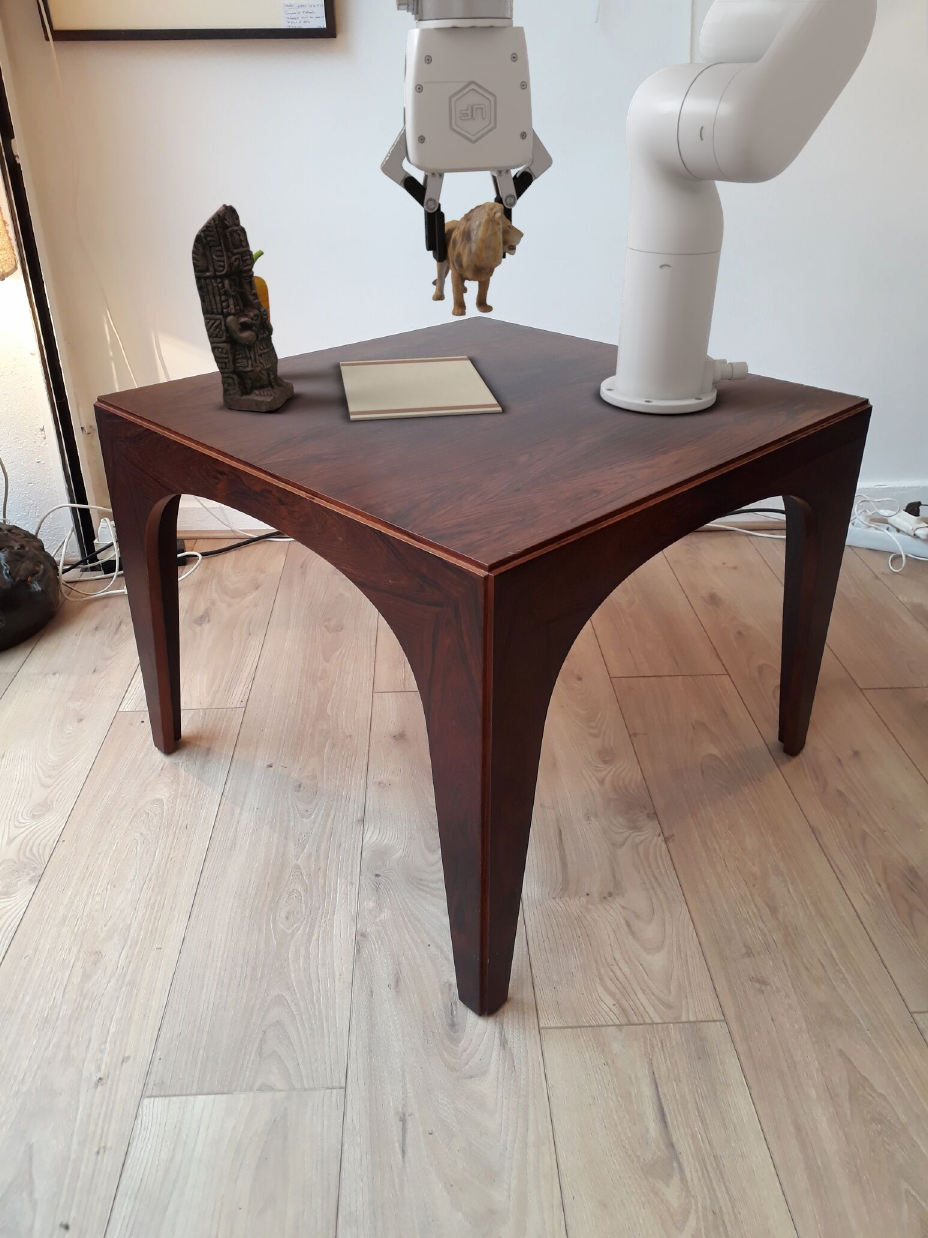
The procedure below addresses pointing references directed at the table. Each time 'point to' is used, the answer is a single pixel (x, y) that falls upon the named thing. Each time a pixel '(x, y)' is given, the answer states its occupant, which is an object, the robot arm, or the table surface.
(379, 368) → the napkin
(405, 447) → the table surface
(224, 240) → the statue
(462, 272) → the lion figurine
